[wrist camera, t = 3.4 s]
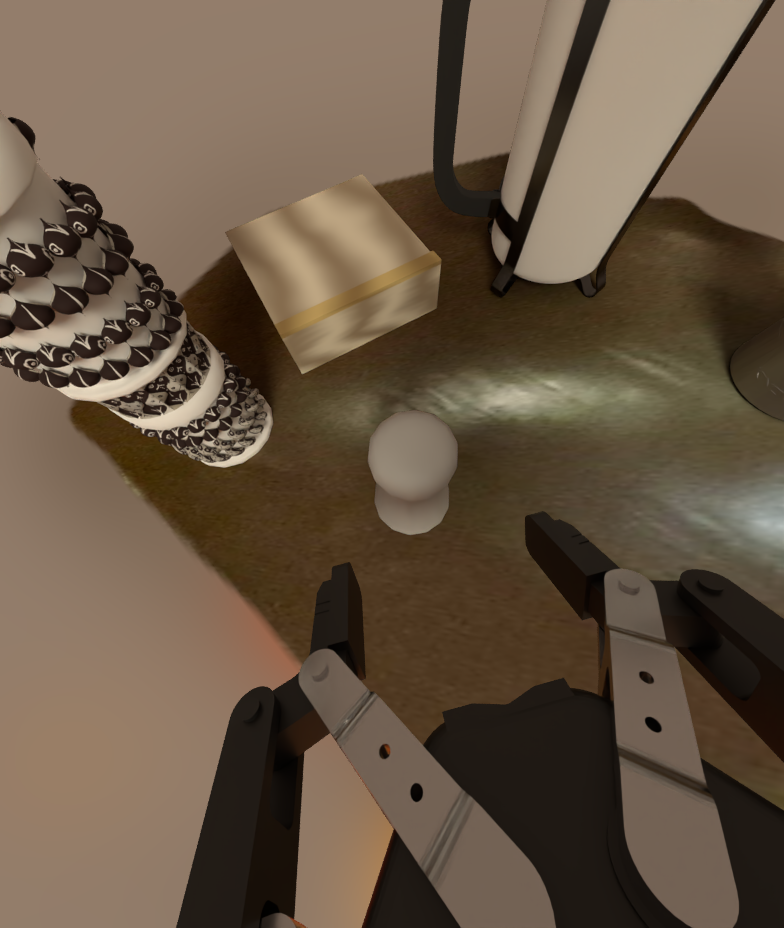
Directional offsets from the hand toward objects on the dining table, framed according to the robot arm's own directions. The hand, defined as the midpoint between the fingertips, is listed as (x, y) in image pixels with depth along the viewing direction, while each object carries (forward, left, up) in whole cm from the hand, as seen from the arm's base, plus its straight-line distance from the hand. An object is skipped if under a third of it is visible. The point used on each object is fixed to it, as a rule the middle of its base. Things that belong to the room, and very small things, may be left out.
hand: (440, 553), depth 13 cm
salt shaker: (-1, -5, -11) cm, 12 cm away
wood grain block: (-6, -30, -11) cm, 32 cm away
